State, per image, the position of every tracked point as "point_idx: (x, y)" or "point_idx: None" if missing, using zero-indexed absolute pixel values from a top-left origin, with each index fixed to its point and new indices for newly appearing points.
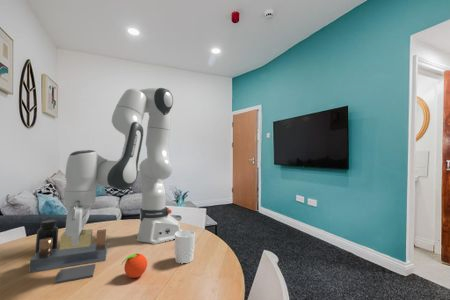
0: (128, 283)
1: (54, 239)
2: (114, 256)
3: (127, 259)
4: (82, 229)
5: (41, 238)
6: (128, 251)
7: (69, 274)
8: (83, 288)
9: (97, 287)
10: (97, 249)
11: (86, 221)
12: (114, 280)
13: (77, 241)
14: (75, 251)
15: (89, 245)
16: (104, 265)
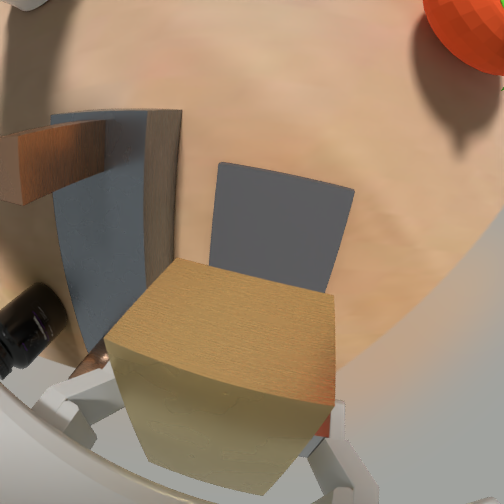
0: (497, 81)
1: (27, 314)
2: (155, 67)
3: (496, 43)
4: (94, 388)
5: (37, 351)
6: (133, 7)
7: (277, 279)
8: (429, 238)
9: (459, 190)
10: (125, 163)
11: (26, 417)
12: (449, 113)
13: (341, 427)
14: (116, 269)
15: (331, 302)
16: (245, 117)
